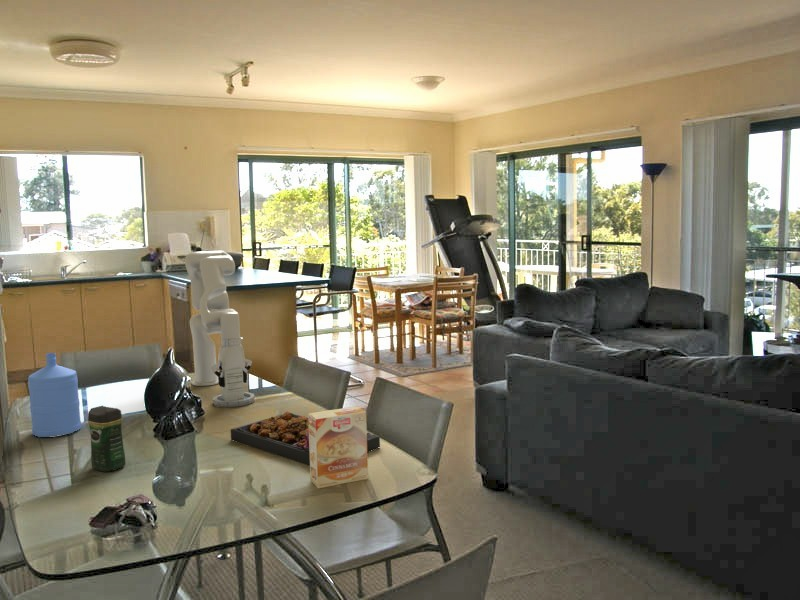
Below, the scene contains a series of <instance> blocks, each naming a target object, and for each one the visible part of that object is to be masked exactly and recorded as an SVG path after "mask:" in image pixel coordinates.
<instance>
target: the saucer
mask: <svg viewBox="0 0 800 600" xmlns="http://www.w3.org/2000/svg"><path fill="white" fill-rule="evenodd" d="M212 402H213V405H214V406H215V405H216V406H215V407H217V406H218V407H217V408H224V407H225V408H228V409H229V408H230V409H231V408H240V407H244V406H248V405H252V404H253V403H255V394H254V393H252V392H247V391H244V399H243V400H238V401H225V400H224V399H222V393H220V394H217V395H215V396H214V397H213V398H212ZM251 403H252V404H251Z"/></svg>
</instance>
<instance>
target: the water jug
mask: <svg viewBox="0 0 800 600" xmlns="http://www.w3.org/2000/svg"><path fill="white" fill-rule="evenodd" d="M56 355H57V353H56V352H51V353H46V354H45V357H46V358H45V361H46V366H44V367H42V368H40V369H39V370H36V371H35V372H33V373H31V374H30V375H29V376H28V377H27V380H28V381H27V385H28V387H27V388H28V392H29V402H30V403H29V404H30V405H29V409H30V416H31V424H32V425H31V426H32V427H31V432H32V435H33V436H34V435H35V436H34V437H36V436H38V437H37V438H40V437H50V436H57V435H63V434H67V433H71V432H74V431H77V430H78V431H80V430H81V428H82V421H81V412H80V411H81V410H80V405H81V403H80V398H79V397H80V396H79V386H78V384H79V382H78V375H77V374H78V373H77V371H76V370H74V369H71V368H68V367H65V366H61V365H58V364H57V357H56ZM79 429H80V430H79ZM78 431H77V432H78Z"/></svg>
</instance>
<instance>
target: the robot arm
mask: <svg viewBox="0 0 800 600" xmlns="http://www.w3.org/2000/svg"><path fill="white" fill-rule="evenodd" d="M184 260H185V261H184V262H185V263H184V264H185V265H184V266H185V269H186V271H187V275H188V277H189V280H190V292H191V304H192V308H193V309H194V310H196V311H199V313H197V314H194V315H192V316H191V317H190V319H189V327H190V328H189V329H190V332H191V337H192V338H191V339H192V349H193V365H194V380H192V381H191V385H192V386H195V387H207V386H214V385H217V384H218V385H219V387H220V388H221V387H225V383H224V377H223V375H224V371H228V370H234V369H243V384H246V383H247V382H248V381H247V380H248V372H249V370H250V369H251V366H252V363H253V361H252V360H251V359H248V358H246V357H245V351H244V348H243V345H242V342H243V341H244V338H243V337H241V329H240V328H241V327H240V326H241V325H240V314H239V312H238V311H236V310H235V309H234V308H230V300H229V295H228V292H227V284H226V281H225V280H226V279H225V277H224V276H231V275H234V273H235V271H236V263H235V260H234V259H233V257H232V256H231V254H229V253H227V252H226V251H225V250H207V251H205V250H203V251H193V252H189V253H187V254H186V255H185V258H184ZM214 334H220V344H221V346H219V347H218V352H216V343H215V341H214V340H213V339H212V338H211V337H210V335H214ZM217 353H218V355H217Z"/></svg>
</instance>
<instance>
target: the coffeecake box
mask: <svg viewBox="0 0 800 600" xmlns="http://www.w3.org/2000/svg"><path fill="white" fill-rule="evenodd" d="M307 415H308V416H307V418H308V424H309V452H310V466H309V474H310V477H309V478H310V482H312V484H314V486H315V487H316V488H317V489H324V488H327V487H332V486H337V485H344V484H348V483H354V482H358V481H364V480H368V479H369V476H368V475H369V473H368V472H369V467H368V466H369V465H368V463H369V462H368V453H367V433H368V430H367V429H368V426H367V411H365V410H364V409H363V408H361V407H360V406H357V405H356V406H352V407H344V408H335V409H330V410H329V409H328V410H323V411H316V412H315V411H314V412H309V413H307Z"/></svg>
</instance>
